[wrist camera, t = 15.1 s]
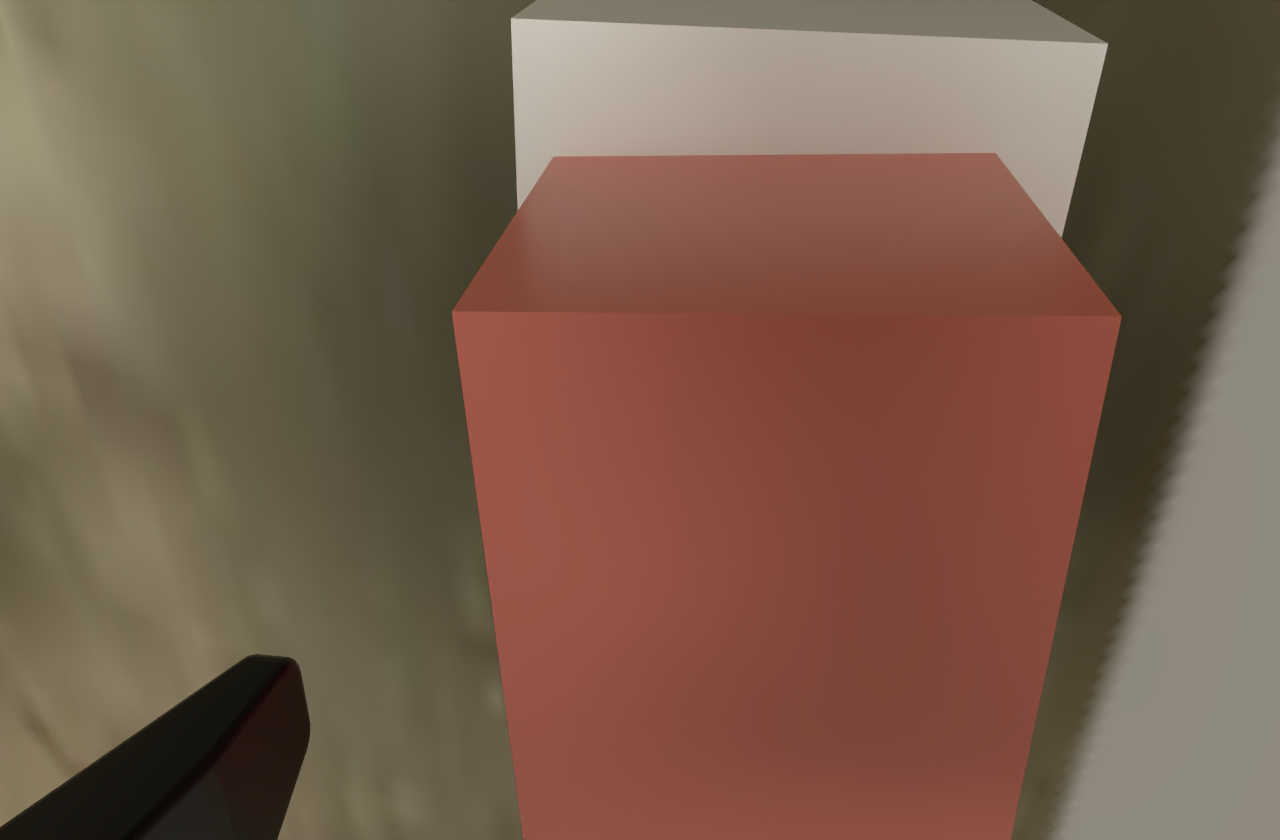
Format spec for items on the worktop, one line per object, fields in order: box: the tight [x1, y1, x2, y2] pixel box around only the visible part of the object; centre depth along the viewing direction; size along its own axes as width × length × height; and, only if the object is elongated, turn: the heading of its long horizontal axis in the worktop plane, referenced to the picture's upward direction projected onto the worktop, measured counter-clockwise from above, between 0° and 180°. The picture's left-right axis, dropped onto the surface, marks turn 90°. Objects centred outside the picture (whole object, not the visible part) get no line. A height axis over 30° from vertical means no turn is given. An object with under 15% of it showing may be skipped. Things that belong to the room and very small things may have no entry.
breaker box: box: [511, 0, 1108, 238], centre depth 16 cm, size 10×7×4 cm
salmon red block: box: [452, 153, 1122, 840], centre depth 12 cm, size 7×6×5 cm
